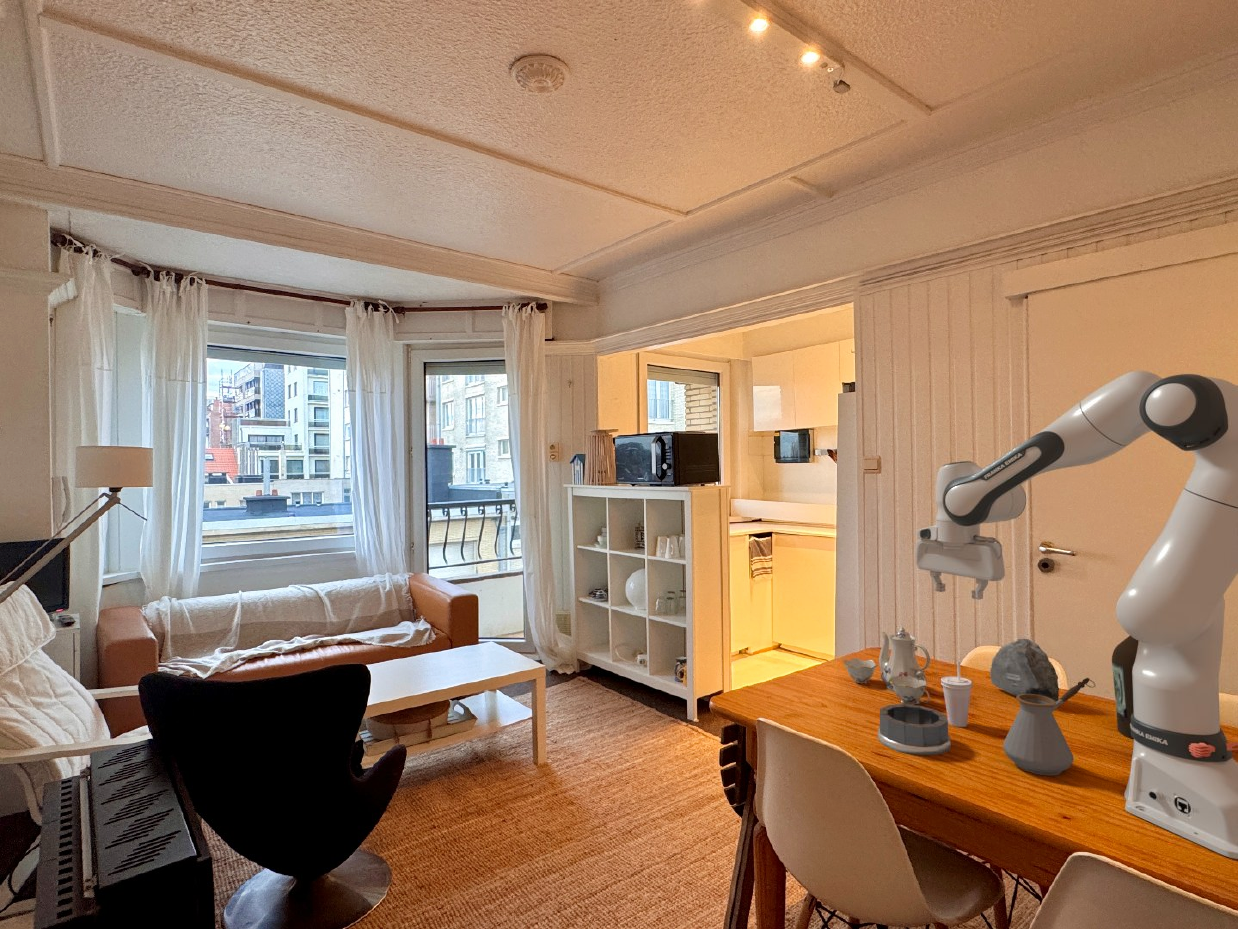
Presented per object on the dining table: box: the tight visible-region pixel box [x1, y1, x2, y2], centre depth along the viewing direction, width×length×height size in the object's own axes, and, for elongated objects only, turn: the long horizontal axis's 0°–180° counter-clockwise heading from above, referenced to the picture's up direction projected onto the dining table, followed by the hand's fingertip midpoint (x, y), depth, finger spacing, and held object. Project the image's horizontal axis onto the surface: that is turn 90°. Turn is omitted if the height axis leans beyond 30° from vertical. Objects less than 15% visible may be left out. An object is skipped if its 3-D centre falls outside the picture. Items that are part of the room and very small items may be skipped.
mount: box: [877, 703, 952, 757], centre depth 139 cm, size 14×14×6 cm
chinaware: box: [842, 626, 931, 705], centre depth 171 cm, size 28×17×17 cm, turn 25°
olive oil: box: [1111, 635, 1139, 740], centre depth 140 cm, size 11×11×25 cm
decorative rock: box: [989, 638, 1060, 702], centre depth 163 cm, size 16×7×15 cm, turn 14°
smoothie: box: [940, 660, 973, 728], centre depth 148 cm, size 6×6×14 cm
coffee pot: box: [1002, 677, 1096, 776], centre depth 128 cm, size 21×12×15 cm, turn 111°
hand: (958, 595), depth 148 cm, fingers open, 8 cm apart
